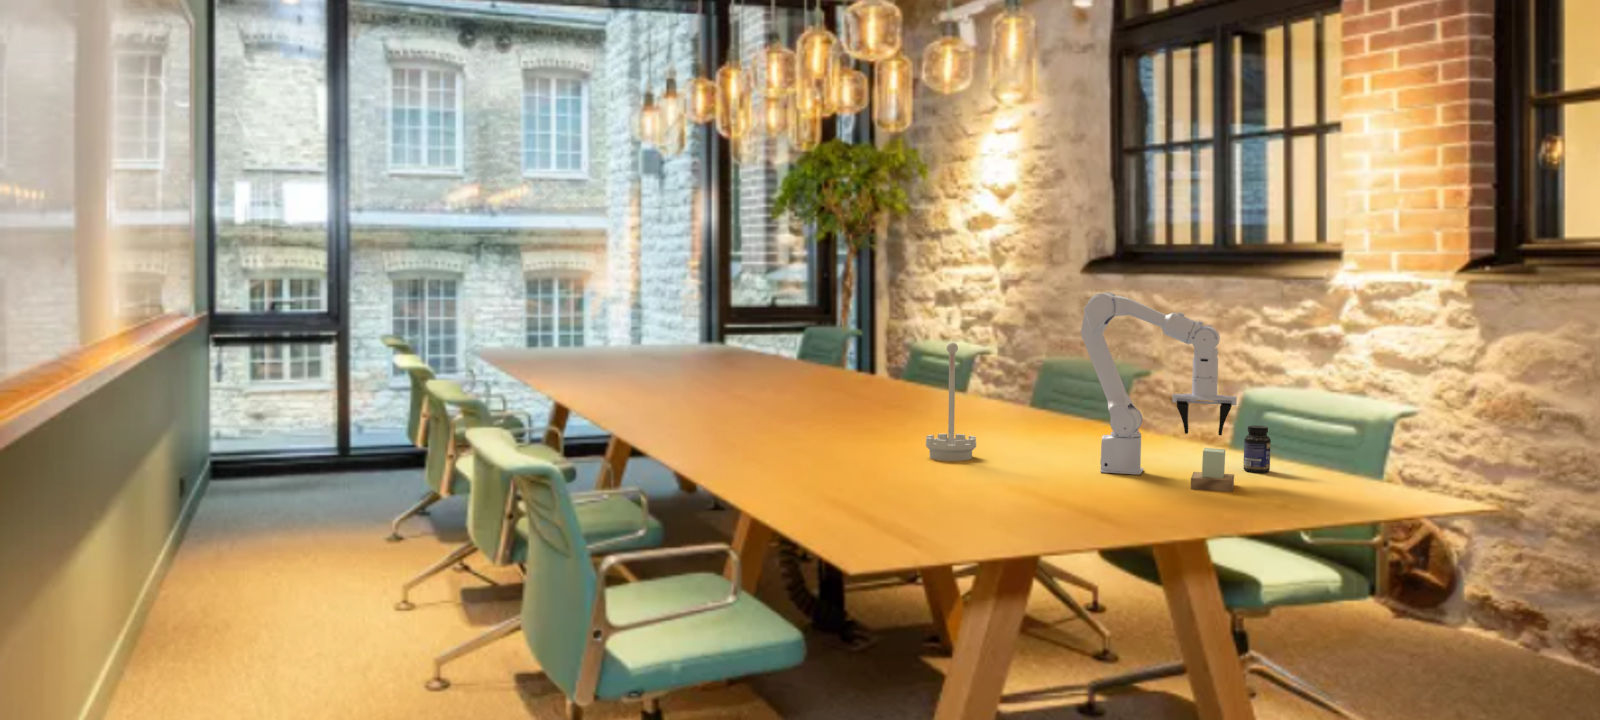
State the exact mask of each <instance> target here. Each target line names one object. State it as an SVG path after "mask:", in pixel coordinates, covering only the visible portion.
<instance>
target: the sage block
mask: <svg viewBox="0 0 1600 720" xmlns="http://www.w3.org/2000/svg"><path fill="white" fill-rule="evenodd" d="M1201 464H1202V467H1201V469H1202V470H1201V472H1202V477H1209V478H1222V479H1223V477H1224V474H1225V469H1226V468H1225V465H1226V449H1223V448H1222V449H1221V448H1211V447H1210V448H1209V447H1204V449H1203V450H1202V463H1201Z"/></svg>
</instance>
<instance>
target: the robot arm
mask: <svg viewBox="0 0 1600 720" xmlns="http://www.w3.org/2000/svg"><path fill="white" fill-rule="evenodd" d="M1121 316H1122V317H1123V316H1131V317H1134V318H1137V319H1139V320H1141V321H1145V322H1147V323H1148V324H1149V323H1150V324H1152V325H1155V326H1158V327H1160V329H1161V330H1162V332H1163V335H1165V336H1167V337H1170V338H1171V339H1174V340H1176V341H1180V342H1182V343H1184V344H1186V345H1192V346H1193V350H1194V351H1193V357H1192V379H1191V381H1192V382H1191V383H1192V384H1191V393H1173V394H1172V395H1171V396H1172V398H1171V401H1172V402H1171V403H1173V404H1175V403H1176V408H1177V411H1178V413H1179V415H1180V417H1181V422H1182V424H1183V429H1184V434H1185V435H1188V434H1189V406H1190V405H1189V404H1203V405H1219V425H1218V436H1222V435H1223V429H1224V426H1225V422H1226V419H1227V417H1228V416H1229V413H1230V411H1231V409H1232V407H1233V406H1237V404H1238V403H1237V402H1238V397H1237V396H1236V395H1235V396H1233V395H1232V396H1231V395H1220V394H1218V378H1219V377H1218V375H1219V374H1218V373H1219V357H1218V355H1219V350H1218V345H1219V344H1220V341H1221V336H1220V333H1219V331H1218V330H1217V329H1216V328H1215V327H1213V326H1212V325H1209V324H1208V325H1207V324H1206V325H1204V321H1201V320H1199V321H1197V320H1193V319H1191V318H1189V317H1187V316H1185V313H1183V312H1181V311H1179V312H1178V313H1177V312H1171V313H1169V314H1165V313H1163V312H1161V311H1158V310H1157V309H1153V308H1151V307H1149V306H1147V305H1146V304H1143V303H1140V302H1139V301H1136V300H1135V299H1132V298H1130V297H1125V296H1123V295H1119V294H1118V295H1116V294H1115V293H1112V292H1102V293H1096V294H1094V295H1092V296H1091V297H1090V298H1089V300H1088V302H1087V303H1086V304H1085V306H1084V308H1083V319H1082V324H1081V328H1080V335H1081V339H1082V340H1083V343H1084V346H1085V349H1086V350H1087V354H1088V356H1089V358H1090V361H1091V363H1092V366H1093V368H1094V371H1095V373H1096V375H1097V378H1098V381H1099V383H1100V385H1101V388H1102V390H1103V393H1104V395H1105V396H1104V397H1105V399H1106V401H1107V409H1108V413H1109V415H1110V422H1109V423H1110V428H1111V430H1112V431H1111V432H1110V434H1103V435H1102V437H1101V446H1100V447H1101V448H1100V471H1099V472H1100V473H1106V474H1107V473H1108V474H1122V475H1123V474H1124V475H1126V474H1127V475H1138V476H1139V475H1142V473H1143V471H1144V467H1141V465H1142V464H1141V463H1142V462H1141V461H1142V460H1141V458H1142V457H1141V456H1142V455H1141V453H1142V433H1141V432H1140V431H1139V429H1140V427H1141V426H1142V423H1143V414H1142V413H1141V411H1140V410H1139V409H1138V408H1137V407H1136V406H1135V405H1134V403H1133V401H1132V399H1131V397H1130V396H1129V395H1128V393H1127V391H1126V390H1127V389H1125V386H1124V382H1123V381H1122V378H1121V376H1120V373H1119V371H1118V368H1117V366H1116V364H1115V361H1114V358H1113V356H1112V353H1111V351H1110V348H1109V346H1108V344H1107V341H1106V339H1105V336H1104V333H1105V331H1106V329H1107V326H1108V325H1109V322H1110V321H1111V320H1112V319H1113V318H1115V317H1121Z"/></svg>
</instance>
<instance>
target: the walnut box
mask: <svg viewBox="0 0 1600 720" xmlns="http://www.w3.org/2000/svg"><path fill="white" fill-rule="evenodd" d="M1234 485H1235V474H1234V473H1224V477H1223V479H1222V478H1209V477H1202V471H1193V472H1192V475H1191V476H1190V490H1197V491H1198V490H1199V491H1211V492H1212V491H1215V492H1229V493H1230V492H1231V493H1233V490H1234Z"/></svg>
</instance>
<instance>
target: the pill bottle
mask: <svg viewBox="0 0 1600 720" xmlns="http://www.w3.org/2000/svg"><path fill="white" fill-rule="evenodd" d="M1247 432H1248V435H1245V436H1244V440H1243V442H1244V443H1243V470H1244V471H1246V472H1248V473H1257V474H1264V473H1265V474H1266V473H1269V472H1270V470H1271V469H1270V468H1271V443H1272V442H1271V438H1270V437H1269V436H1268V432H1269V427H1268V426H1265V425H1255V424H1254V425H1252V424H1251V425H1248V426H1247Z"/></svg>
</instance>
